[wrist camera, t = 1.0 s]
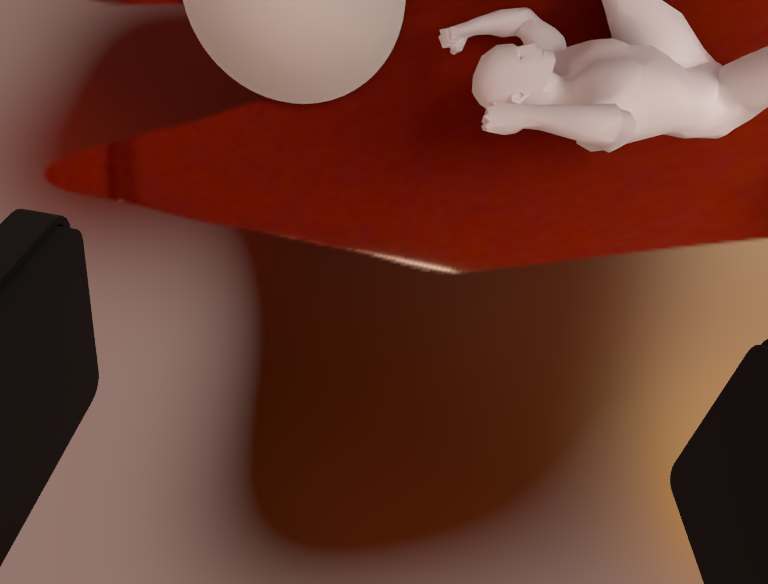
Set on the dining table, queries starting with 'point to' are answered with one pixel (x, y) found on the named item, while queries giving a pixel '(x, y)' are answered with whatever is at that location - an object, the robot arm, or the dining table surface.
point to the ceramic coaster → (298, 43)
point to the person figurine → (610, 78)
